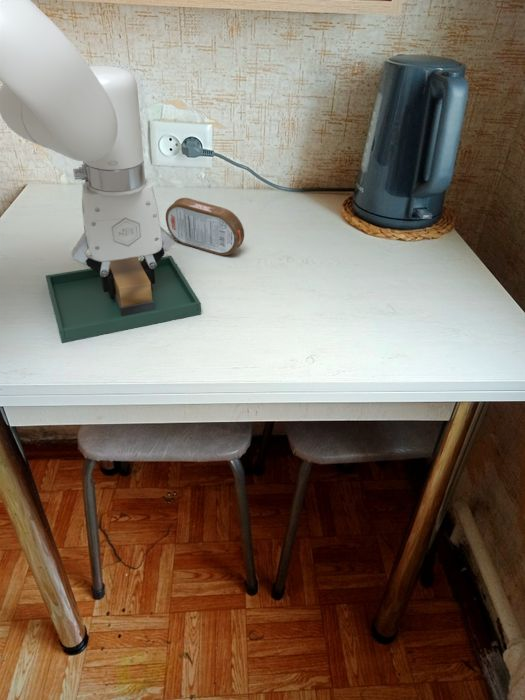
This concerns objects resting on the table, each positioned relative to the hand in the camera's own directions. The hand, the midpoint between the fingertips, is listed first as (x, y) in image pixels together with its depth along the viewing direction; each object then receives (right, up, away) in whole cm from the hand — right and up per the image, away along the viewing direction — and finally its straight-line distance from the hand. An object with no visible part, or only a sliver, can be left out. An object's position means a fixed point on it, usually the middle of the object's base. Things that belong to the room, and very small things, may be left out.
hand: (129, 289), depth 78 cm
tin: (+10, +9, +15) cm, 20 cm away
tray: (-1, -2, +1) cm, 2 cm away
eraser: (0, -1, +1) cm, 1 cm away
